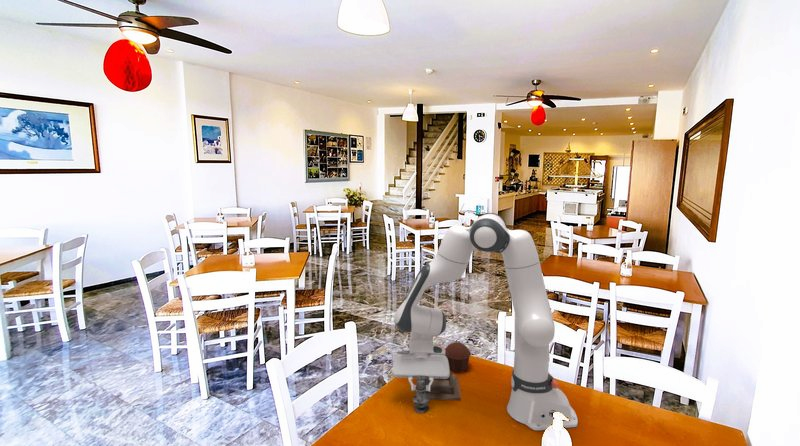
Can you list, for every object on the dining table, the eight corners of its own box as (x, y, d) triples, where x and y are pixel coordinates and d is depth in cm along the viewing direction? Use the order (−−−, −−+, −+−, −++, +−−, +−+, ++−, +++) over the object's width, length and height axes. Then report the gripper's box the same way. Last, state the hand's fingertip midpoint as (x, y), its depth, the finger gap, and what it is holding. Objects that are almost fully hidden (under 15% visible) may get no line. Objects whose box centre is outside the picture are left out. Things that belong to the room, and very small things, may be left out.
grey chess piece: (428, 414, 133) (427, 381, 131) (411, 412, 134) (410, 380, 132) (430, 403, 138) (430, 372, 137) (414, 402, 140) (413, 371, 138)
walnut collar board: (457, 377, 156) (457, 369, 155) (460, 400, 141) (461, 391, 140) (419, 376, 157) (419, 368, 156) (419, 398, 142) (419, 389, 141)
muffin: (442, 359, 170) (443, 338, 169) (468, 360, 170) (468, 338, 168) (444, 374, 158) (445, 351, 157) (472, 375, 158) (472, 351, 156)
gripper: (392, 347, 141) (390, 387, 133) (449, 348, 140) (450, 389, 131) (393, 353, 146) (391, 392, 138) (448, 354, 145) (449, 394, 137)
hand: (420, 391), depth 135 cm, fingers closed on grey chess piece, 4 cm apart
